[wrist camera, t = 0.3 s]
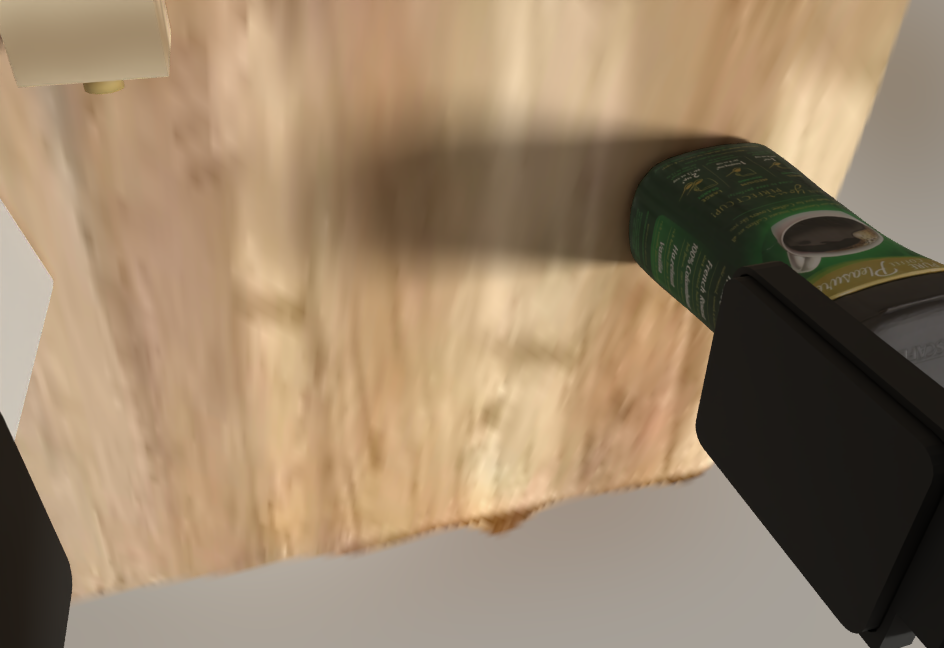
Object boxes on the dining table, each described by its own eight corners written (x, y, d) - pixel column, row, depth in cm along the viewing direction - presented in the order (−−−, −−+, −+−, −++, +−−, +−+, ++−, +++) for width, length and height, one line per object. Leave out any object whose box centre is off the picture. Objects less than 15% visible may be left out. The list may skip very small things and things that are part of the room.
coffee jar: (619, 275, 48) (806, 497, 33) (626, 156, 43) (849, 354, 29) (758, 244, 50) (993, 441, 35) (780, 126, 45) (1062, 298, 31)
